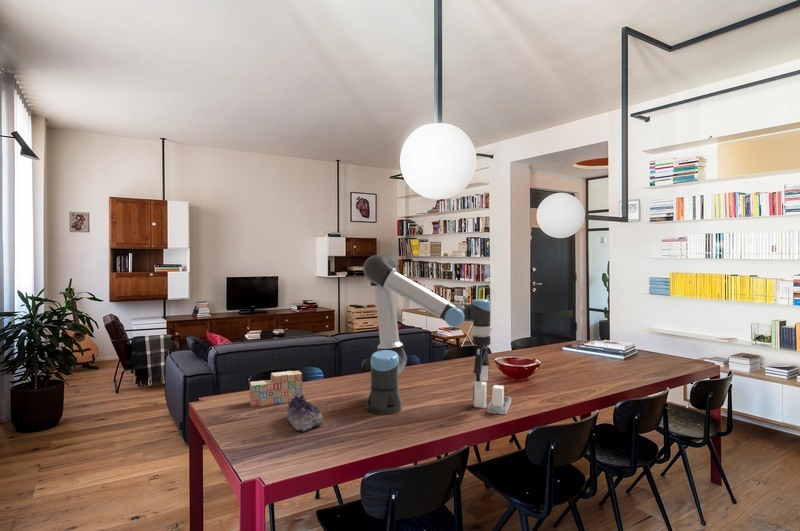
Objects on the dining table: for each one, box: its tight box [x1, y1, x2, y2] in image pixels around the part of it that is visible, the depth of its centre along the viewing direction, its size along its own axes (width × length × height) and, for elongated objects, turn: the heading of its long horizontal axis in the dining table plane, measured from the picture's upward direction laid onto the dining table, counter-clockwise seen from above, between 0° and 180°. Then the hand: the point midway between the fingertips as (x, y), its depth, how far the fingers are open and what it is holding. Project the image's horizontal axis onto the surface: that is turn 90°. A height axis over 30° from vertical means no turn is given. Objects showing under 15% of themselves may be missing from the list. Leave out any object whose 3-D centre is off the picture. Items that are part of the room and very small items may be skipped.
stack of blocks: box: [249, 370, 303, 408], centre depth 205 cm, size 21×6×12 cm, turn 115°
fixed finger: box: [491, 384, 505, 408], centre depth 198 cm, size 4×5×10 cm
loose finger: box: [472, 381, 488, 409], centre depth 203 cm, size 4×5×10 cm
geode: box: [286, 394, 324, 433], centre depth 181 cm, size 20×12×10 cm, turn 34°
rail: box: [486, 396, 512, 415], centre depth 202 cm, size 18×8×2 cm, turn 159°
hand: (481, 384), depth 203 cm, fingers open, 13 cm apart
